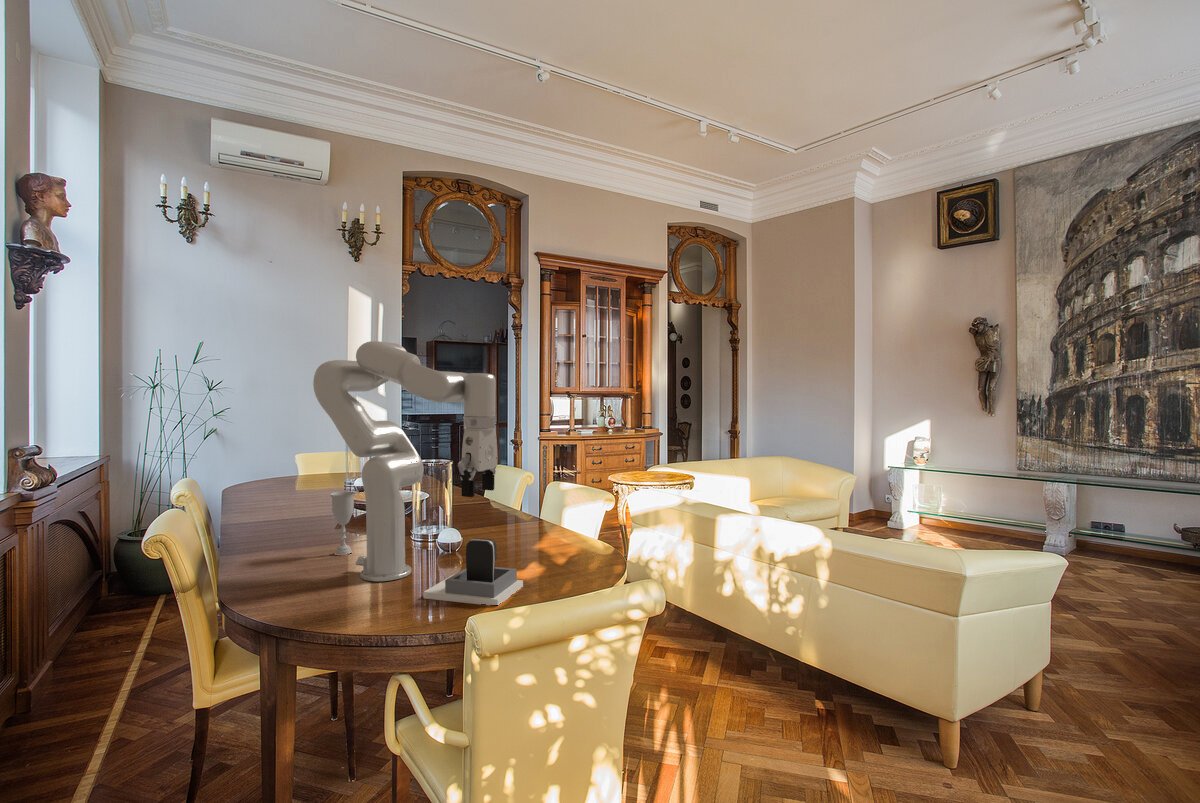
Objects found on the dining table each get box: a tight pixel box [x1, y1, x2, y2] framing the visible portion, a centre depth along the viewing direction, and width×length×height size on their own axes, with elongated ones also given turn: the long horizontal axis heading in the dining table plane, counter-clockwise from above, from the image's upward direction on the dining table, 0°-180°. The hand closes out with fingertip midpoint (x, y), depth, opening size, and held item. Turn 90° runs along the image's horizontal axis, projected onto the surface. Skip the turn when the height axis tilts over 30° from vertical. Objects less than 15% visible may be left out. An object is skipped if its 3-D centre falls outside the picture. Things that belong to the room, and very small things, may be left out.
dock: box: [422, 566, 524, 606], centre depth 143 cm, size 19×14×4 cm
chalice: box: [329, 490, 356, 554], centre depth 177 cm, size 7×7×18 cm
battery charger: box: [465, 537, 498, 583], centre depth 143 cm, size 7×4×11 cm, turn 78°
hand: (478, 493), depth 147 cm, fingers open, 9 cm apart
